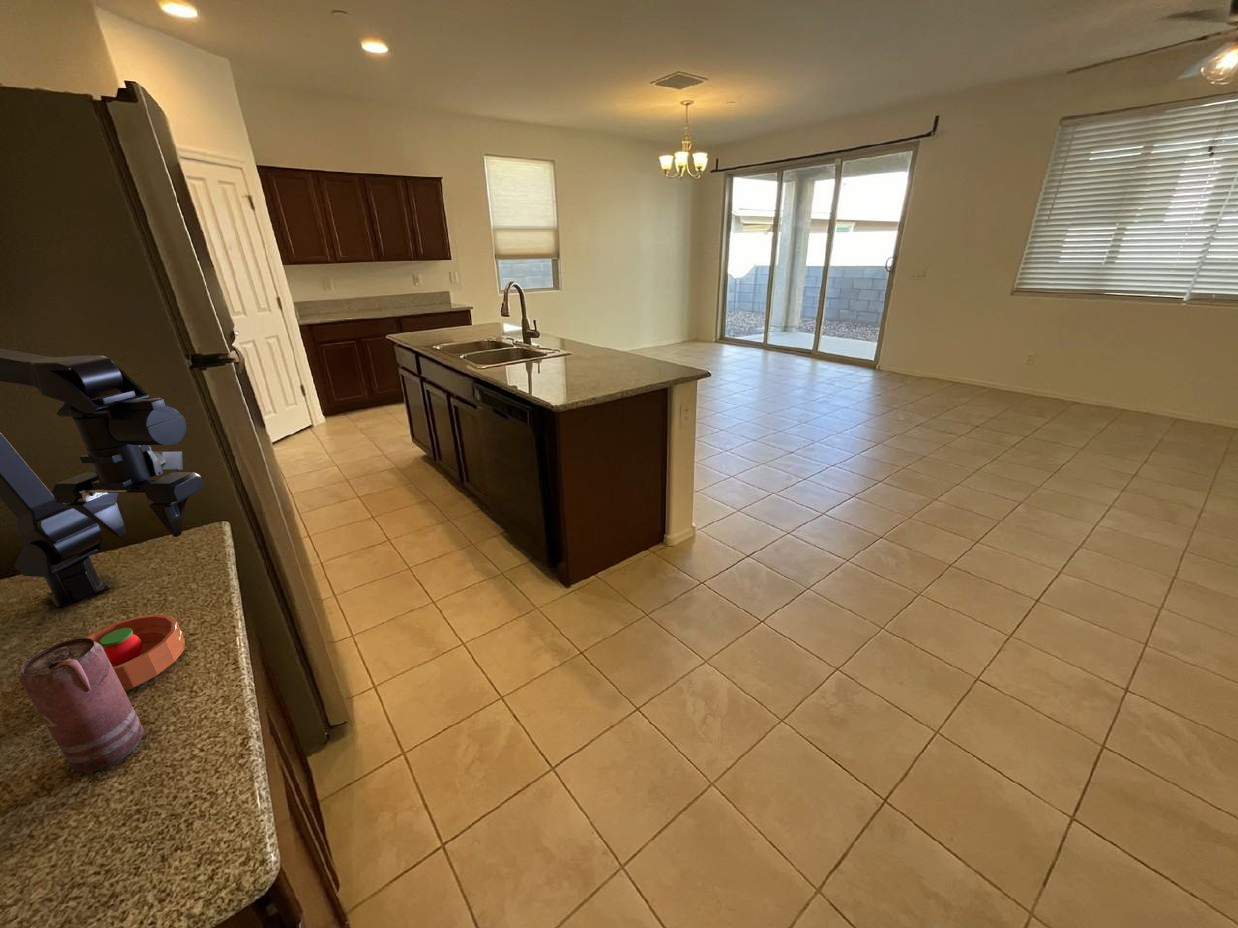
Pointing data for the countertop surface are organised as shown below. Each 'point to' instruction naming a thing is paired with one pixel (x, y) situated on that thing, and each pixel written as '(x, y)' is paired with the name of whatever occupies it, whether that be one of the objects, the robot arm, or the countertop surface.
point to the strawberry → (121, 646)
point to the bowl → (147, 647)
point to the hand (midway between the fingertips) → (150, 535)
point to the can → (82, 703)
